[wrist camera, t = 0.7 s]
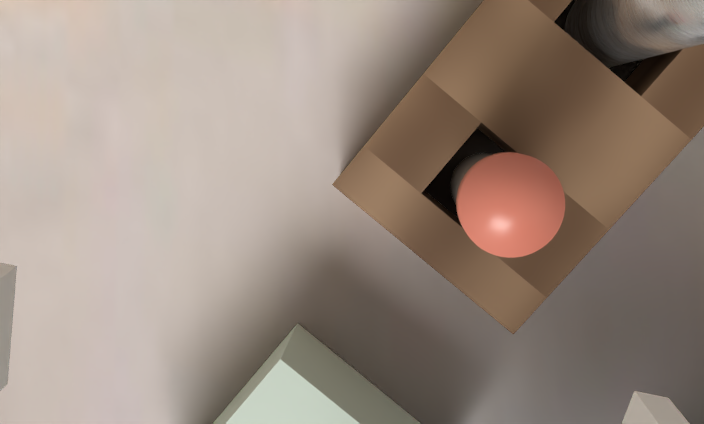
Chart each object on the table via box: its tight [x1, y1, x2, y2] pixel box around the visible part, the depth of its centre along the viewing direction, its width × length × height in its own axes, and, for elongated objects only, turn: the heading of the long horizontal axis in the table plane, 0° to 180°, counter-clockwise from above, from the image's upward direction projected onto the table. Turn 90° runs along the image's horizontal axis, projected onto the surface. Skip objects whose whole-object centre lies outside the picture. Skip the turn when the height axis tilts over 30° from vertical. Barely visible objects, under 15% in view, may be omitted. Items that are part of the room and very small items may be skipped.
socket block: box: [332, 0, 704, 334], centre depth 28 cm, size 10×18×4 cm, turn 141°
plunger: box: [450, 152, 565, 258], centre depth 25 cm, size 3×3×7 cm
